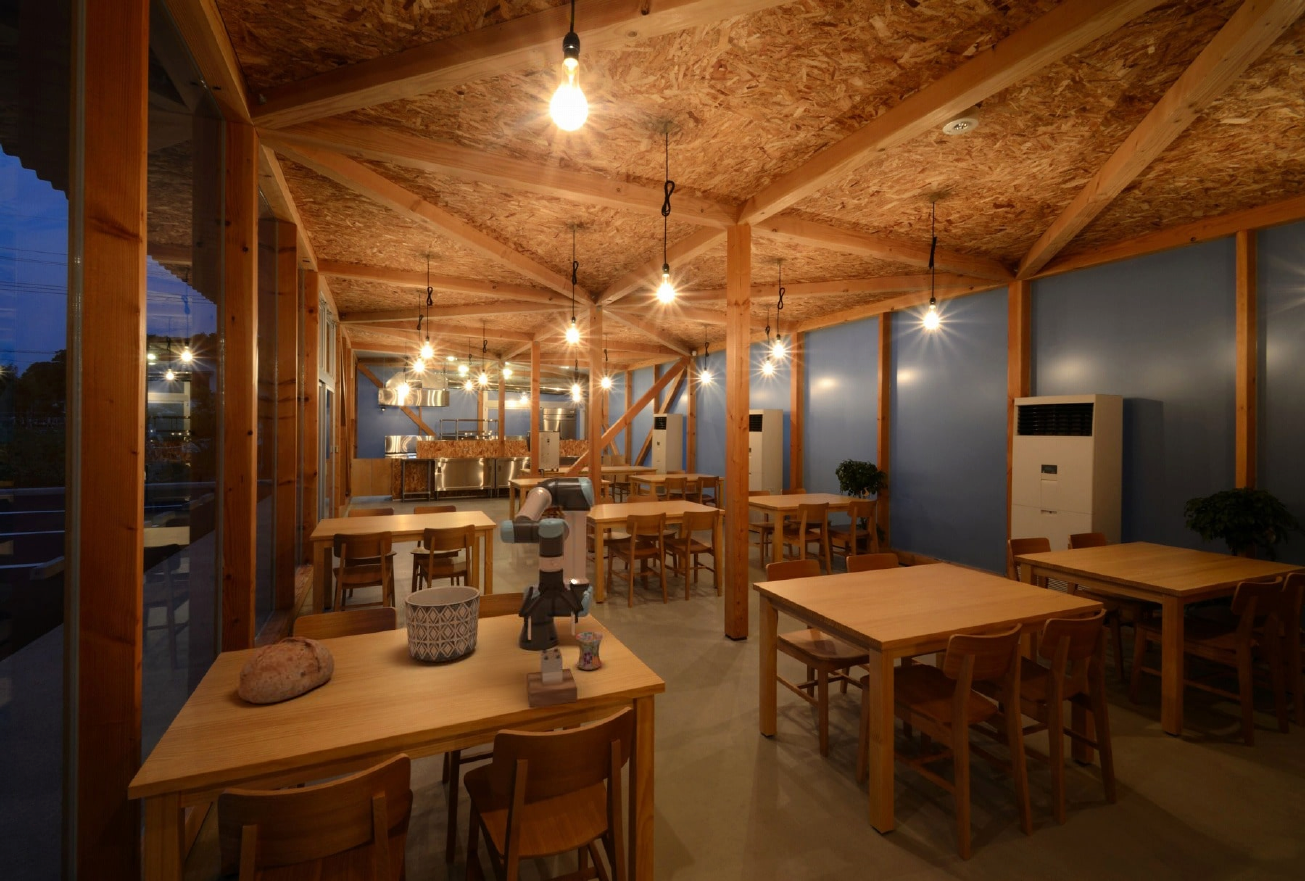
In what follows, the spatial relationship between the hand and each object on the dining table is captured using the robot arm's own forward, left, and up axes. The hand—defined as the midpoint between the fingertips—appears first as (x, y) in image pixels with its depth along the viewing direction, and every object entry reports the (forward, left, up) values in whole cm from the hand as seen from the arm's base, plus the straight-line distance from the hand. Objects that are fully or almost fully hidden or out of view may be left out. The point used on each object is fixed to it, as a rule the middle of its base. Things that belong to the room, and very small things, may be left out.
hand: (551, 635), depth 174 cm
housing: (0, 0, -14) cm, 14 cm away
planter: (-43, -35, -18) cm, 59 cm away
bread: (-28, -81, -18) cm, 88 cm away
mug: (-18, +15, -18) cm, 30 cm away
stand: (0, 0, -18) cm, 18 cm away
